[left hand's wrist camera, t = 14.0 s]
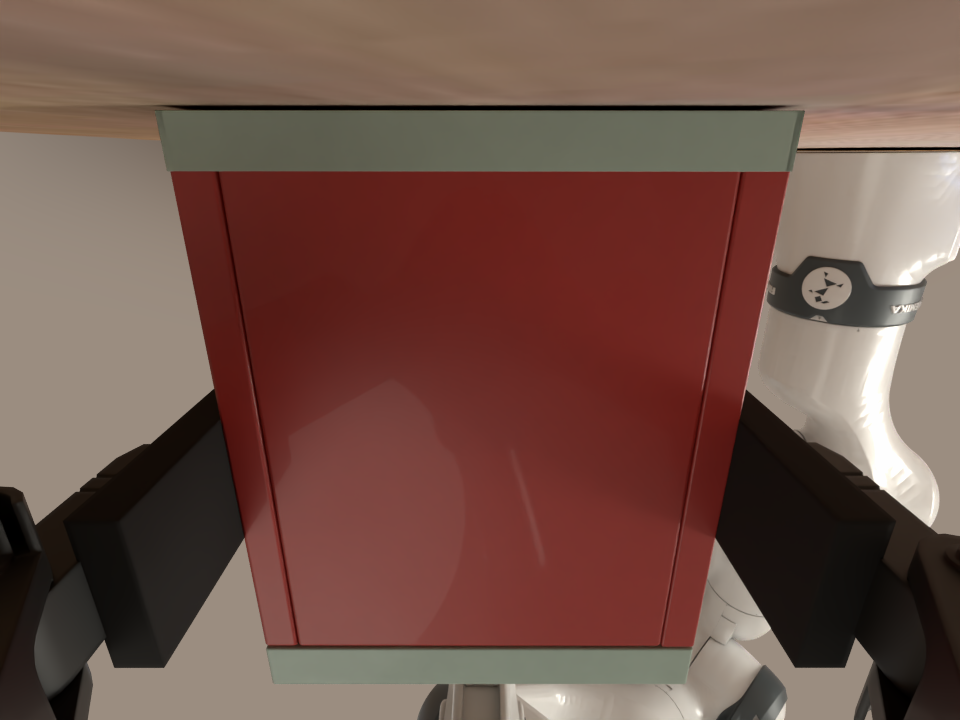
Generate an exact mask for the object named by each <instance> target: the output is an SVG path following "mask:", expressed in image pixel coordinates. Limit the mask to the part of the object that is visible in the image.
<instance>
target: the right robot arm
mask: <svg viewBox="0 0 960 720" xmlns="http://www.w3.org/2000/svg"><path fill="white" fill-rule="evenodd" d="M959 247H960V151H926V152H796V156H795V161H794V166H793V171H792V172H790V175H789V180H788V185H787V190H786V195H785V200H784V204H783V209H782V214H781V219H780V224H779V229H778V234H777V239H776V244H775V249H774V255H775V258H776V262H777V265H776V266H774V267H773V268H772V273H771V278H770V281H769V282H768V288H767V289H768V295H767V302H768V303H769V304H770V309H769V314H768V318H767V323H766V328H765V333H764V338H763V343H762V347H761V352H760V357H759V362H758V369H759V374H760V377H761V379H762V381H763V383H764V385H765V386H766V387H767V389H768V390H769V391H770V392H771V393H772V394H774V395H775V396H776V397H777V398H779V399H780V400H781V401H783V402H784V403H786V404H788V405H789V406H791V407H793V408H795V409H797V410H799V411H800V412H802V413H804V414H806V415H807V418H806V422H805V425H804V427H803V428H802V429H801V430H793V431H794V432H795V433H796V434H798V435H799V436H800V437H801V438H802V439H803V440H804V441H806V442H816V443H818V444H820V445H822V446H824V447H826V448H828V449H830V450H832V451H834V452H836V453H838V454H840V455H842V456H844V457H845V458H846V459H847V460H849V461H850V462H851V463H852V464H853V465H855V466H856V467H857V468H858V469H859V470H861V471H862V472H863V476H868V477H869V478H870V479H872V480H873V481H874V482H875V483H876V484H878V485H879V486H880V490H885V491H886V492H887V493H889V494H890V495H891V496H892V497H894V498H895V499H896V500H897V501H898V502H900V503H901V504H902V505H903V506H904V507H906V508H907V509H908V510H909V511H911V512H912V513H913V514H914V515H915V516H917V517H918V518H919V519H920V520H921V521H923V522H924V523H925V524H926V525H928V526H929V527H930V526H931V525H932V523H933V522H934V520H935V518H936V515H937V512H938V508H939V490H938V486H937V482H936V480H935V478H934V475H933V474H932V472H931V470H930V469H929V467H928V466H927V464H926V463H925V462H924V461H923V460H922V459H921V458H920V457H919V456H918V455H917V454H916V453H915V452H913V451H912V450H911V449H910V448H909V447H908V446H907V445H906V444H905V443H904V442H903V441H902V439H901V438H900V436H899V435H898V433H897V431H896V429H895V427H894V425H893V422H892V418H891V414H890V409H889V392H890V386H891V381H892V376H893V371H894V367H895V363H896V358H897V355H898V351H899V347H900V343H901V340H902V337H903V334H904V330H905V327H906V324H907V323H909V322H911V321H913V319H914V317H915V314H916V312H917V309H918V308H919V307H920V305H921V302H922V299H923V297H922V295H923V292H924V289H925V286H926V283H927V281H926V279H925V278H924V277H925V276H926V275H928V274H929V273H930V272H931V271H932V270H934V269H936V268H937V267H939V266H942V265H944V264H946V263H947V262H949V261H952V260H954V259H955V257H956V255H957V252H958V249H959ZM770 629H771V628H770V626H769V624H768V623H767V621H766V620H765V618H764V616H763V615H762V613H761V611H760V610H759V608H758V607H757V605H756V603H755V602H754V600H753V598H752V597H751V595H750V594H749V592H748V590H747V589H746V587H745V586H744V584H743V582H742V581H741V579H740V577H739V576H738V574H737V573H736V571H735V569H734V568H733V566H732V564H731V563H730V561H729V560H728V558H727V556H726V555H725V553H724V552H723V550H722V548H721V547H720V545H719V543H718V542H717V540H716V539H715V543H714V548H713V553H712V558H711V563H710V568H709V572H708V577H707V582H706V587H705V592H704V597H703V602H702V607H701V612H700V617H699V621H698V626H697V631H696V636H695V641H694V645H693V646H692V649H693V651H692V656H691V661H690V666H689V670H688V675H687V680H686V683H685V684H437V685H436V686H435V687H434V688H433V690H432V691H431V692H430V694H429V695H428V697H427V698H426V700H425V702H424V703H423V705H422V708H421V710H420V712H419V715H418V719H417V720H784V718H785V712H786V701H787V694H786V689H785V687H784V685H783V684H782V683H781V681H780V680H779V679H778V678H777V677H776V676H775V674H774V673H773V672H772V671H771V670H770V669H769V668H768V667H767V666H766V665H764V666H762V665H761V664H760V663H759V662H758V661H757V660H756V659H755V658H754V657H753V656H752V655H751V654H750V653H749V652H748V651H747V650H745V649H744V648H743V647H742V646H741V645H740V644H739V643H738V642H737V641H735V640H734V639H737V640H752V639H756V638H758V637H760V636H762V635H763V634H765V633H766V632H768V631H769V630H770ZM733 638H734V639H733Z"/></svg>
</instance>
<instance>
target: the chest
mask: <svg viewBox="0 0 960 720" xmlns="http://www.w3.org/2000/svg"><path fill="white" fill-rule="evenodd" d="M804 112H805V111H668V110H155V114H156V119H157V124H158V129H159V134H160V139H161V144H162V149H163V153H164V158H165V163H166V168H167V171H170V172H171V176H172V181H173V186H174V191H175V196H176V201H177V206H178V211H179V216H180V221H181V226H182V231H183V236H184V241H185V246H186V251H187V256H188V260H189V265H190V270H191V275H192V280H193V285H194V290H195V295H196V300H197V305H198V310H199V315H200V320H201V325H202V330H203V335H204V340H205V345H206V350H207V355H208V360H209V364H210V369H211V374H212V379H213V384H214V389H215V394H216V399H217V404H218V409H219V414H220V419H221V424H222V429H223V434H224V439H225V444H226V449H227V454H228V458H229V463H230V468H231V473H232V478H233V483H234V488H235V493H236V498H237V503H238V508H239V513H240V518H241V523H242V528H243V533H244V538H245V543H246V548H247V552H248V557H249V562H250V567H251V572H252V577H253V582H254V587H255V592H256V597H257V602H258V607H259V612H260V617H261V622H262V627H263V631H264V637H265V641H266V644H267V645H297V643H298V642H299V644H300V645H353V646H657V645H659V644H661V646H663V647H692V646H693V645H694V641H695V636H696V631H697V626H698V621H699V617H700V612H701V607H702V602H703V597H704V592H705V587H706V582H707V577H708V572H709V568H710V563H711V558H712V553H713V548H714V543H715V537H716V532H717V527H718V522H719V517H720V512H721V507H722V502H723V497H724V493H725V488H726V483H727V478H728V473H729V468H730V463H731V458H732V453H733V448H734V443H735V438H736V433H737V429H738V424H739V419H740V415H741V411H742V406H743V401H744V396H745V391H746V386H747V381H748V376H749V371H750V366H751V361H752V357H753V352H754V347H755V342H756V337H757V332H758V327H759V322H760V317H761V312H762V307H763V303H764V298H765V293H766V288H767V283H768V278H769V273H770V268H771V263H772V258H773V254H774V249H775V244H776V239H777V234H778V229H779V224H780V219H781V214H782V209H783V204H784V200H785V195H786V190H787V185H788V180H789V175H790V172H792V171H793V166H794V161H795V156H796V151H797V146H798V142H799V137H800V132H801V127H802V122H803V117H804Z"/></svg>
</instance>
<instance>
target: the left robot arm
mask: <svg viewBox="0 0 960 720" xmlns="http://www.w3.org/2000/svg"><path fill="white" fill-rule="evenodd" d="M243 539H244V533H243V528H242V523H241V518H240V513H239V508H238V503H237V498H236V493H235V488H234V483H233V478H232V473H231V468H230V463H229V458H228V454H227V449H226V444H225V439H224V434H223V429H222V424H221V419H220V414H219V409H218V404H217V399H216V394H215V389H213V390H212V391H211V392H210V393H209V394H208V395H206V396H205V397H204V398H203V399H202V400H201V401H200V402H198V403H197V404H196V405H195V406H194V407H193V408H192V409H190V410H189V411H188V412H187V413H186V414H185V415H183V416H182V417H181V418H180V419H179V420H178V421H177V422H175V423H174V424H173V425H172V426H171V427H170V428H169V429H167V430H166V431H165V432H164V433H163V434H162V435H161V436H159V437H158V438H157V439H156V440H155V441H154V442H153V443H151V444H143V445H141V446H139V447H137V448H135V449H133V450H131V451H129V452H128V453H126V454H124V455H122V456H120V457H118V458H116V459H115V460H114V461H112V462H111V463H110V464H109V465H108V466H106V467H105V468H104V469H103V470H102V471H100V472H99V473H98V474H97V477H96V478H92V479H91V480H90V481H88V482H87V483H86V484H85V485H83V486H82V487H81V488H80V492H75V493H74V494H73V495H71V496H70V497H69V498H68V499H67V500H65V501H64V502H63V503H62V504H61V505H59V506H58V507H57V508H56V509H55V510H53V511H52V512H51V513H50V514H49V515H47V516H46V517H45V518H44V519H42V520H41V521H40V522H39V523H38V524H37V525H35V524H34V521H33V518H32V516H31V513H30V510H29V508H28V505H27V502H26V500H25V497H24V494H23V492H21V491H19V490H17V489H15V488H14V487H0V720H88V713H89V706H90V700H91V694H92V687H93V683H92V676H91V672H90V669H89V667H88V664H87V661H88V660H89V659H90V657H91V656H92V655H93V654H94V652H95V651H96V650H97V648H98V647H99V646H100V644H101V643H102V642H103V641H104V640H105V643H106V645H107V648H108V651H109V654H110V657H111V660H112V662H113V665H114V667H115V668H164V667H165V665H166V664H167V662H168V661H169V659H170V657H171V656H172V654H173V653H174V651H175V649H176V648H177V646H178V644H179V643H180V641H181V640H182V638H183V636H184V635H185V633H186V631H187V630H188V628H189V627H190V625H191V623H192V622H193V620H194V618H195V617H196V615H197V614H198V612H199V610H200V609H201V607H202V606H203V604H204V602H205V601H206V599H207V597H208V596H209V594H210V592H211V591H212V589H213V588H214V586H215V585H216V583H217V581H218V580H219V578H220V576H221V575H222V573H223V572H224V570H225V568H226V567H227V565H228V563H229V562H230V560H231V559H232V557H233V555H234V554H235V552H236V550H237V549H238V547H239V546H240V544H241V542H242V541H243ZM715 539H716V540H717V542H718V543H719V545H720V547H721V548H722V550H723V552H724V553H725V555H726V556H727V558H728V560H729V561H730V563H731V564H732V566H733V568H734V569H735V571H736V573H737V574H738V576H739V577H740V579H741V581H742V582H743V584H744V586H745V587H746V589H747V590H748V592H749V594H750V595H751V597H752V598H753V600H754V602H755V603H756V605H757V607H758V608H759V610H760V611H761V613H762V615H763V616H764V618H765V620H766V621H767V623H768V624H769V626H770V628H771V629H772V631H773V633H774V634H775V636H776V637H777V639H778V641H779V642H780V644H781V645H782V647H783V649H784V650H785V652H786V653H787V655H788V657H789V658H790V660H791V662H792V663H793V665H794V666H795V668H845V666H846V663H847V660H848V657H849V654H850V652H851V649H852V646H853V643H854V640H855V637H856V638H857V640H858V641H859V642H860V644H861V645H862V646H863V647H864V649H865V650H866V651H867V653H868V654H869V655H870V656H871V658H872V659H873V660H874V661H873V664H872V667H871V669H870V672H869V675H868V677H867V680H866V683H865V685H864V688H863V691H862V693H861V696H860V699H859V701H858V704H857V707H856V710H855V716H854V720H864V719H865V717H866V714H867V712H868V711H869V710H871V711H872V718H873V720H960V536H955V535H949V534H937V533H936V532H935V531H934V530H932V529H931V528H930V527H929V526H928V525H926V524H925V523H924V522H923V521H921V520H920V519H919V518H918V517H917V516H915V515H914V514H913V513H912V512H911V511H909V510H908V509H907V508H906V507H904V506H903V505H902V504H901V503H900V502H898V501H897V500H896V499H895V498H894V497H892V496H891V495H890V494H889V493H887V492H886V491H885V490H880V486H879V485H878V484H876V483H875V482H874V481H873V480H872V479H870V478H869V477H868V476H863V472H862V471H861V470H859V469H858V468H857V467H856V466H855V465H853V464H852V463H851V462H850V461H849V460H847V459H846V458H845V457H844V456H842V455H840V454H838V453H836V452H834V451H832V450H830V449H828V448H826V447H824V446H822V445H820V444H818V443H816V442H806V441H804V440H803V439H802V438H801V437H800V436H799V435H798V434H796V433H795V432H794V431H793V430H792V429H791V428H789V427H788V426H787V425H786V424H785V423H784V422H783V421H782V420H780V419H779V418H778V417H777V416H776V415H775V414H774V413H772V412H771V411H770V410H769V409H768V408H767V407H766V406H764V405H763V404H762V403H761V402H760V401H759V400H757V399H756V398H755V397H754V396H753V395H752V394H751V393H749V392H748V391H747V390H746V391H745V396H744V401H743V406H742V411H741V415H740V419H739V424H738V429H737V433H736V438H735V443H734V448H733V453H732V458H731V463H730V468H729V473H728V478H727V483H726V488H725V493H724V497H723V502H722V507H721V512H720V517H719V522H718V527H717V532H716V537H715Z"/></svg>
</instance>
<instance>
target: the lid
mask: <svg viewBox="0 0 960 720" xmlns="http://www.w3.org/2000/svg"><path fill="white" fill-rule="evenodd" d="M266 650H267V655H268V660H269V665H270V670H271V675H272V680H273V683H274V684H685V683H686V680H687V675H688V670H689V666H690V661H691V656H692V651H693V649H692V647H663V646H661V644H659V645H657V646H353V645H300V644H299V642H298V643H297V645H268V646H267V649H266Z"/></svg>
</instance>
